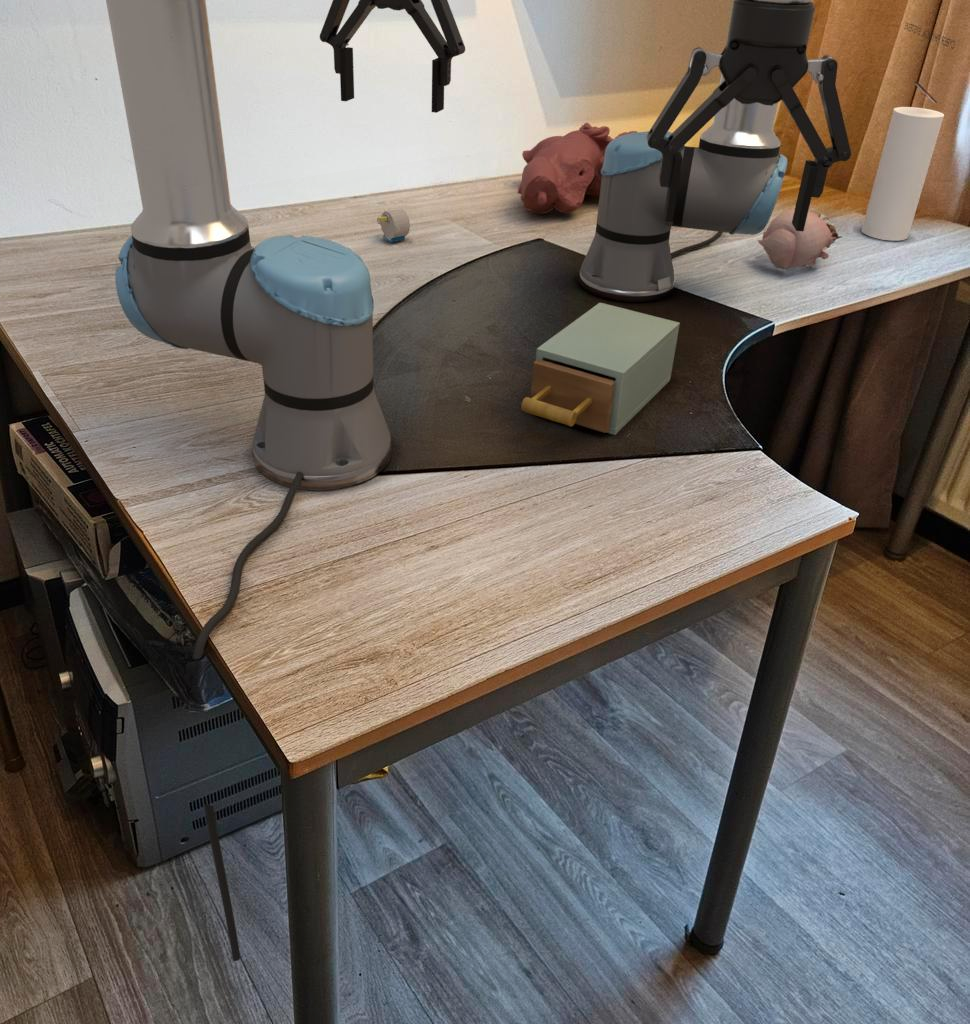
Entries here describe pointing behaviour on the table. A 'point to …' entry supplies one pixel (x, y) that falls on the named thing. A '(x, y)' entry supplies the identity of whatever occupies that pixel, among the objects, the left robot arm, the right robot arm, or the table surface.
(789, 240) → the toy
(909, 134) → the tall white tube
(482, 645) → the table surface
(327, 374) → the left robot arm
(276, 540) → the table surface
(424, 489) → the table surface
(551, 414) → the drawer
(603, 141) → the red pig figurine
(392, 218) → the electric motor
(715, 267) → the table surface
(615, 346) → the cabinet
